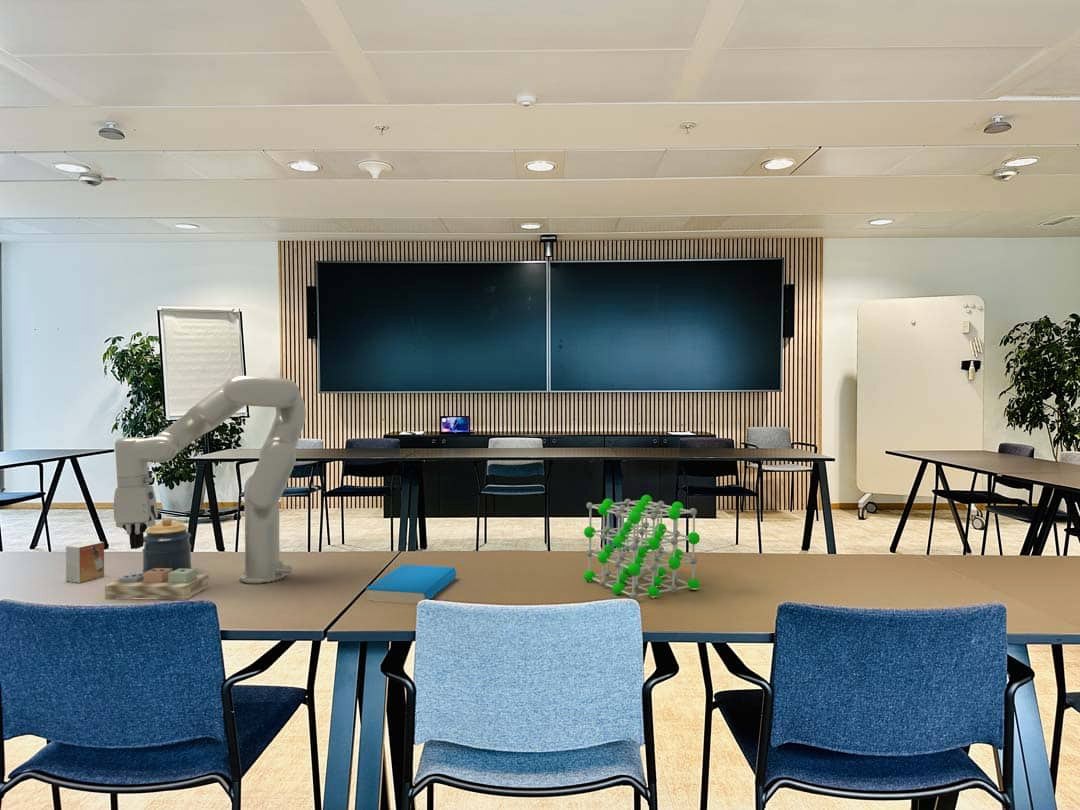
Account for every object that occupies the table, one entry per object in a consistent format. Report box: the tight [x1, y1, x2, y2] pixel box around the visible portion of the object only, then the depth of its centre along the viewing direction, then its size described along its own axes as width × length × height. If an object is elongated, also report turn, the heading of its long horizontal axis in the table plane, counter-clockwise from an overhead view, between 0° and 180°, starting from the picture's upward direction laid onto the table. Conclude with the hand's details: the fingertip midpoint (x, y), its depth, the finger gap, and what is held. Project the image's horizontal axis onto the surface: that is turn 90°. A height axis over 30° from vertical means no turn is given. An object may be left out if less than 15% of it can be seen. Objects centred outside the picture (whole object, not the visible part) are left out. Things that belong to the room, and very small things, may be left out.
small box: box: [65, 540, 105, 584], centre depth 201 cm, size 8×6×10 cm
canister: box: [141, 517, 192, 574], centre depth 205 cm, size 13×13×18 cm
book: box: [365, 564, 457, 603], centre depth 192 cm, size 17×4×25 cm
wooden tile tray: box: [104, 572, 210, 601], centre depth 188 cm, size 22×12×4 cm, turn 87°
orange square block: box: [144, 568, 172, 583], centre depth 188 cm, size 5×5×3 cm
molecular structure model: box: [583, 494, 701, 600], centre depth 195 cm, size 24×25×24 cm
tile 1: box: [168, 568, 197, 584], centre depth 187 cm, size 5×5×3 cm
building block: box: [118, 572, 144, 583], centre depth 188 cm, size 5×5×3 cm
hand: (137, 547), depth 188 cm, fingers closed
